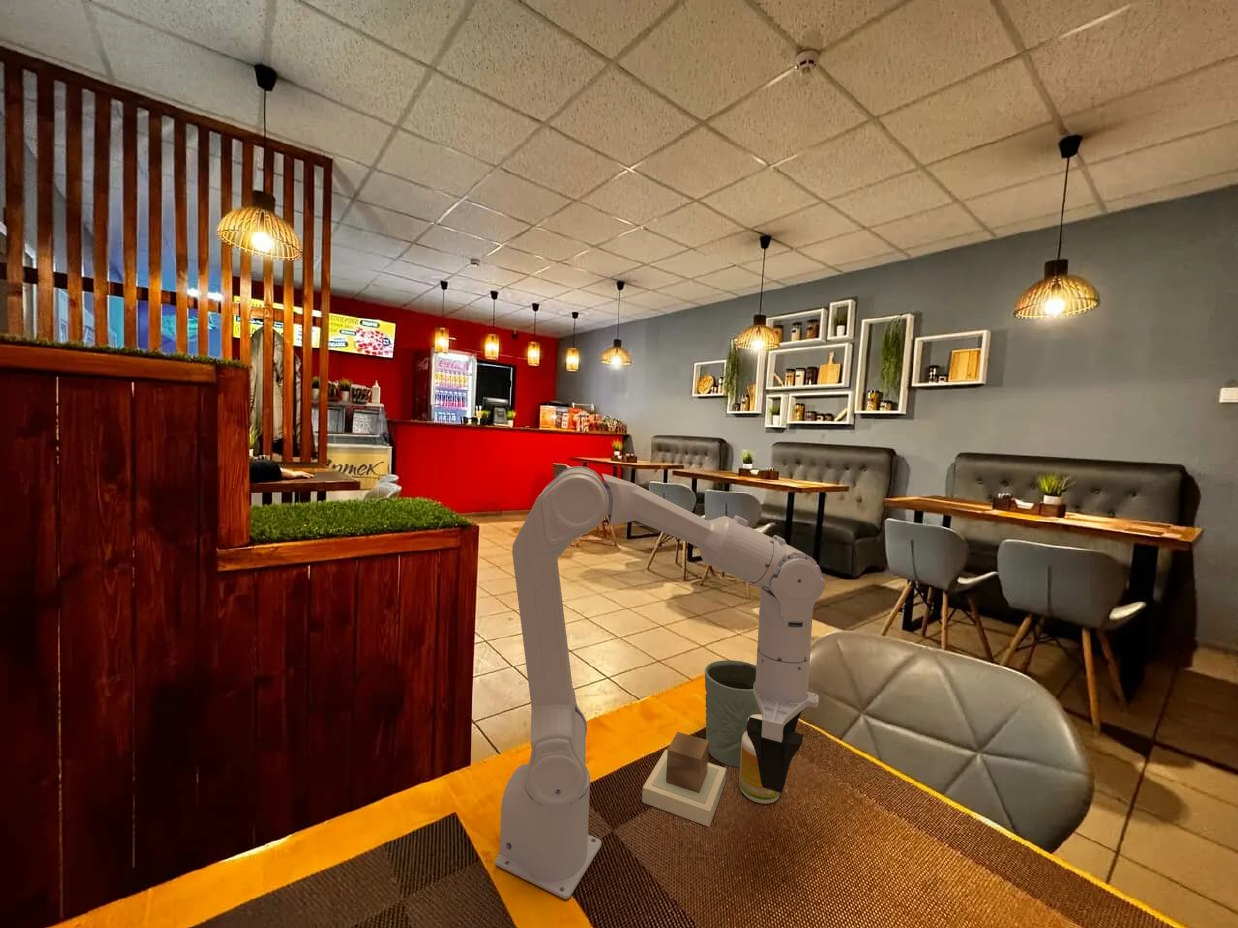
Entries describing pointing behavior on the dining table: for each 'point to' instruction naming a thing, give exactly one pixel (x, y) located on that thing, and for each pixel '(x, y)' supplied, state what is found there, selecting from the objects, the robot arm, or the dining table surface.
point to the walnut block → (687, 762)
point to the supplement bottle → (753, 773)
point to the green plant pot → (729, 707)
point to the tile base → (685, 793)
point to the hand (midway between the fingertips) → (776, 767)
